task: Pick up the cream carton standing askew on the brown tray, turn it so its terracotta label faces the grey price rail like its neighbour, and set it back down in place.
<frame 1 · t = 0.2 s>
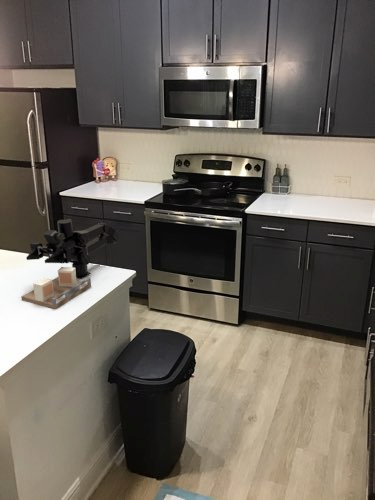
hand: (35, 260, 167), 16 cm above the countertop, tool horizontal, fingers open, 9 cm apart
brown tray: (57, 293, 177), on the countertop
faced carton: (44, 297, 170), point 1 cm above the countertop, touching brown tray
askew carton: (68, 284, 181), point 1 cm above the countertop, touching brown tray
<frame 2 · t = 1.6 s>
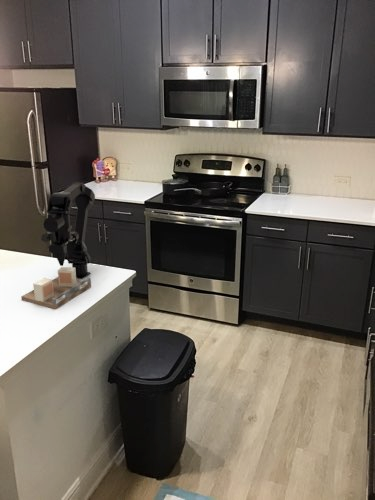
hand: (65, 261, 178), 12 cm above the countertop, tool pointing down, fingers open, 9 cm apart
nothing on the countertop moved.
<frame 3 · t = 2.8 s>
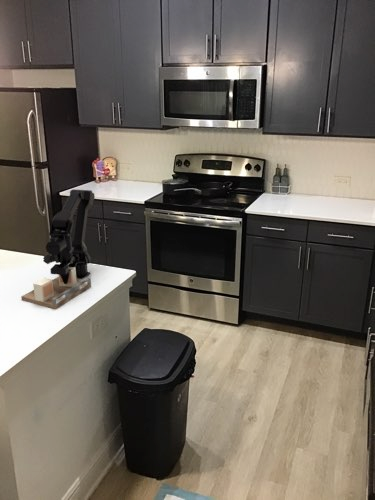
hand: (67, 281, 181), 3 cm above the countertop, tool pointing down, fingers closed on askew carton, 4 cm apart
askew carton: (68, 284, 182), point 2 cm above the countertop, touching gripper
everything else where it was.
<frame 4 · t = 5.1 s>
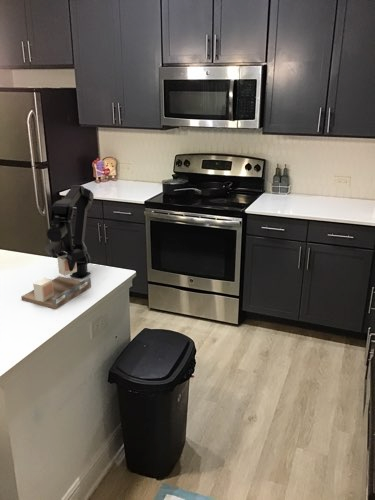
hand: (68, 269, 179), 8 cm above the countertop, tool pointing down, fingers closed on askew carton, 4 cm apart
askew carton: (68, 272, 179), point 7 cm above the countertop, touching gripper
everything else where it was.
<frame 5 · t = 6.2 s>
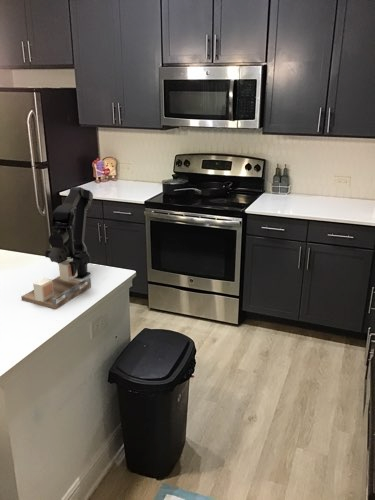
hand: (69, 274, 179), 6 cm above the countertop, tool pointing down, fingers closed on askew carton, 4 cm apart
askew carton: (69, 277, 180), point 5 cm above the countertop, touching gripper
everything else where it was.
when the fingers open (4 cm above the countertop, at t = 7.0 s): askew carton stays where it is, resting on brown tray.
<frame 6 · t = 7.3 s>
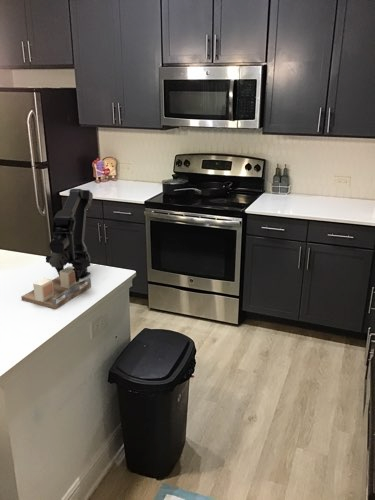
hand: (69, 279, 180), 4 cm above the countertop, tool pointing down, fingers open, 8 cm apart
askew carton: (69, 284, 181), point 1 cm above the countertop, touching brown tray
everything else where it was.
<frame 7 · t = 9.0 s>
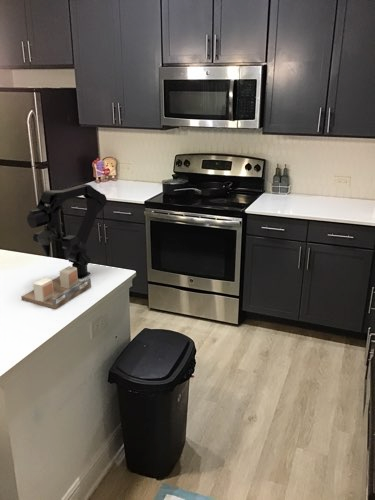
hand: (57, 257, 181), 12 cm above the countertop, tool pointing down, fingers open, 9 cm apart
nothing on the countertop moved.
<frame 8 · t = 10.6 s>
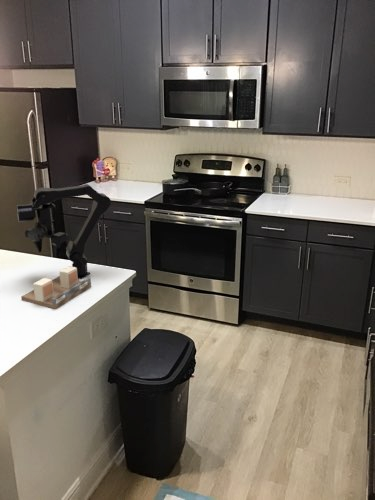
hand: (48, 254, 185), 12 cm above the countertop, tool pointing down, fingers open, 9 cm apart
nothing on the countertop moved.
at the end: askew carton 0.3 cm from the target spot, point 1.5 cm above the countertop; askew carton tilted 0°; faced carton moved 0.0 cm from its start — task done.
